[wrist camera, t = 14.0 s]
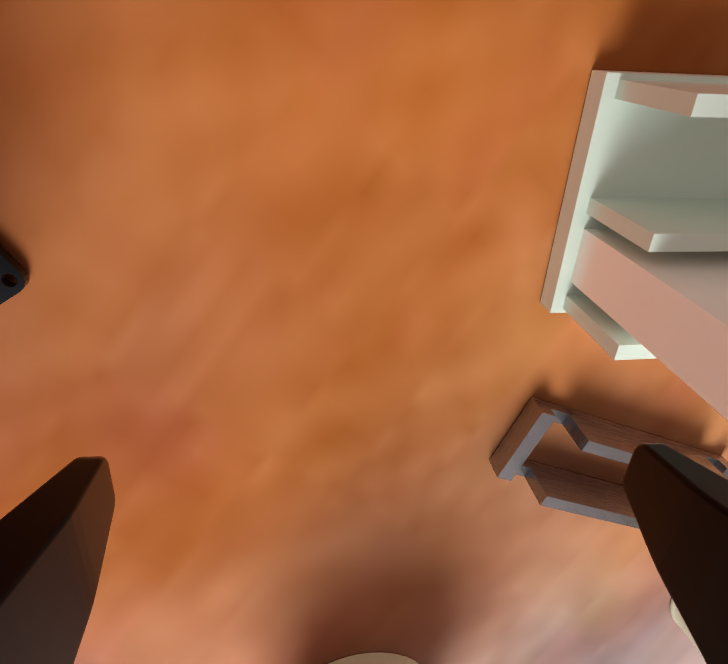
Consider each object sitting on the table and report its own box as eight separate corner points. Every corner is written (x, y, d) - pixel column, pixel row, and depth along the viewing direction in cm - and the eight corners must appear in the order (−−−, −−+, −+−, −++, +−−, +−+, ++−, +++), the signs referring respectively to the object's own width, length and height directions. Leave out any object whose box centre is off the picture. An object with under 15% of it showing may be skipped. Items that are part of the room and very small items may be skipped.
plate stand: (489, 460, 28) (507, 497, 26) (531, 397, 26) (555, 431, 24) (674, 508, 32) (703, 544, 30) (721, 456, 30) (756, 489, 28)
